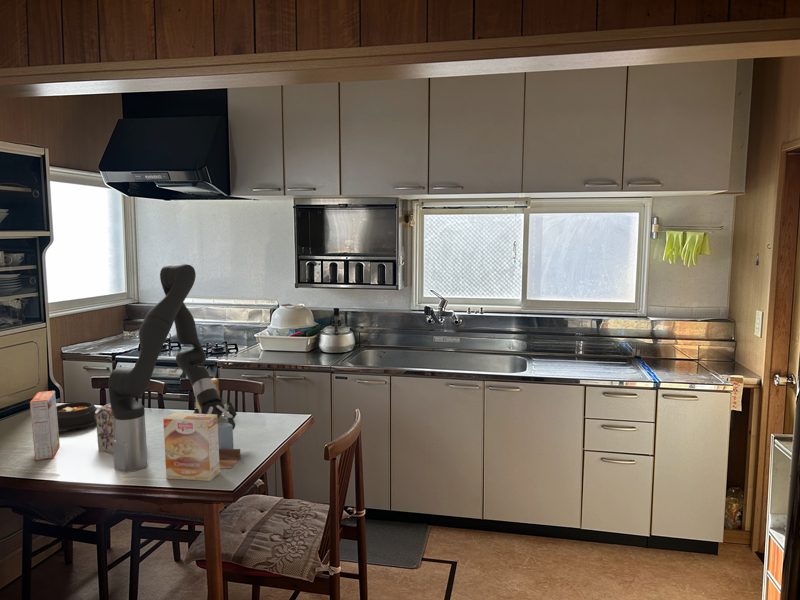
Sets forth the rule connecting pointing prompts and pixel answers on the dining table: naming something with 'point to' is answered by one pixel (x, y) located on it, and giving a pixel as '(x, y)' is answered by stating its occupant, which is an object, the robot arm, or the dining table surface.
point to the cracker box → (44, 425)
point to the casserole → (75, 415)
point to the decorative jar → (105, 428)
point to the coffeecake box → (191, 446)
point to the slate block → (225, 436)
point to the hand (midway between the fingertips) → (222, 431)
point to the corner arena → (228, 457)
